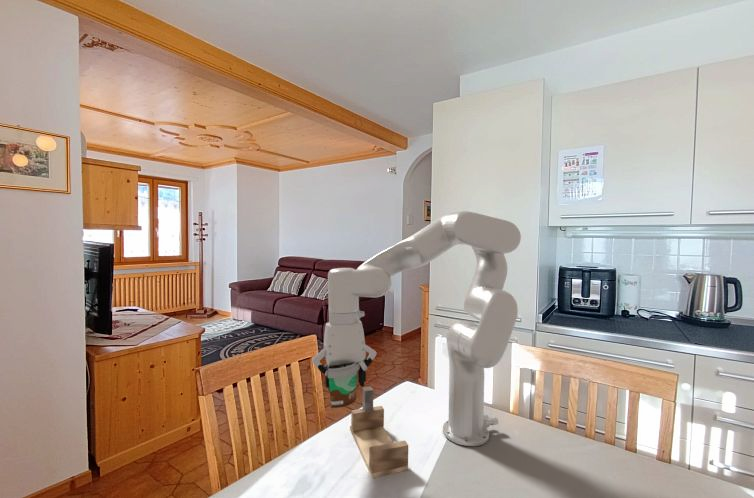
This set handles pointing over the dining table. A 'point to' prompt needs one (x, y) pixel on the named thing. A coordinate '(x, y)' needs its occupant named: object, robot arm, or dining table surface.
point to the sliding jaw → (367, 413)
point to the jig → (381, 451)
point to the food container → (343, 384)
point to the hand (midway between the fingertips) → (345, 386)
